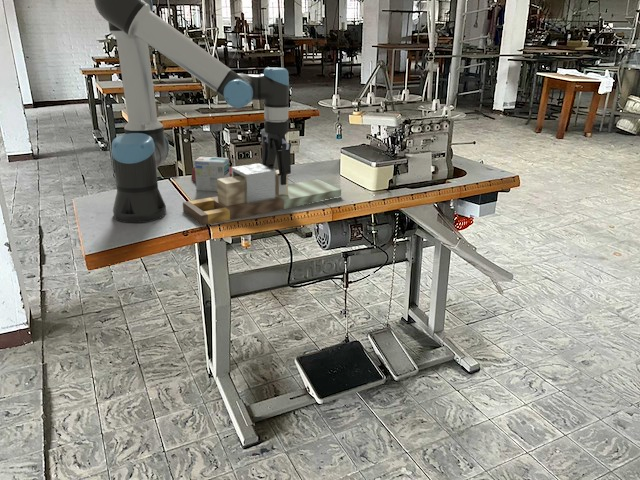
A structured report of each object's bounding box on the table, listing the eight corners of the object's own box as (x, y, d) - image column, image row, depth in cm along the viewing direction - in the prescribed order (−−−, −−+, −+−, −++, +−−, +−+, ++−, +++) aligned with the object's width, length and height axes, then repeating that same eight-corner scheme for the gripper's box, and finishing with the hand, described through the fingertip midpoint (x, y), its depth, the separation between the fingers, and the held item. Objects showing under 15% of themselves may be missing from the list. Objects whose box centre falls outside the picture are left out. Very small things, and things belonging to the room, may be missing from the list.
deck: (201, 225, 151) (201, 215, 150) (183, 211, 161) (182, 202, 160) (340, 197, 179) (341, 189, 178) (317, 187, 189) (317, 179, 188)
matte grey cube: (247, 204, 160) (246, 174, 156) (232, 195, 167) (231, 167, 164) (275, 199, 165) (275, 170, 162) (259, 191, 173) (259, 163, 169)
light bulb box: (230, 186, 186) (229, 157, 182) (225, 192, 180) (224, 162, 176) (201, 185, 187) (199, 155, 183) (195, 190, 181) (193, 160, 177)
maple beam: (226, 205, 158) (225, 183, 155) (218, 200, 163) (217, 178, 160) (287, 194, 170) (288, 174, 167) (278, 190, 175) (278, 169, 172)
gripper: (303, 124, 157) (302, 197, 166) (271, 114, 171) (271, 182, 180) (282, 126, 153) (282, 200, 162) (251, 116, 167) (252, 185, 176)
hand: (276, 190), depth 171 cm, fingers closed on maple beam, 6 cm apart
